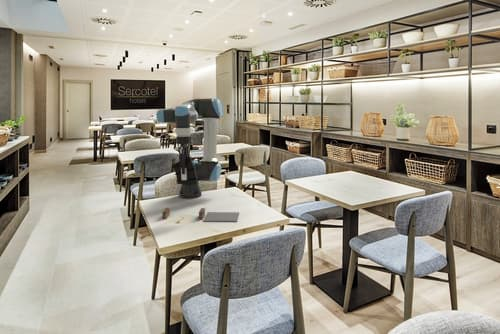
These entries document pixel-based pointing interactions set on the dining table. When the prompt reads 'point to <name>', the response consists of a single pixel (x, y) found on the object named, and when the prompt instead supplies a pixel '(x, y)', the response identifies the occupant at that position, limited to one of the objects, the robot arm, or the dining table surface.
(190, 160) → the black piece
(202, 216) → the walnut holder
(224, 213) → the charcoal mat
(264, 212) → the dining table surface
